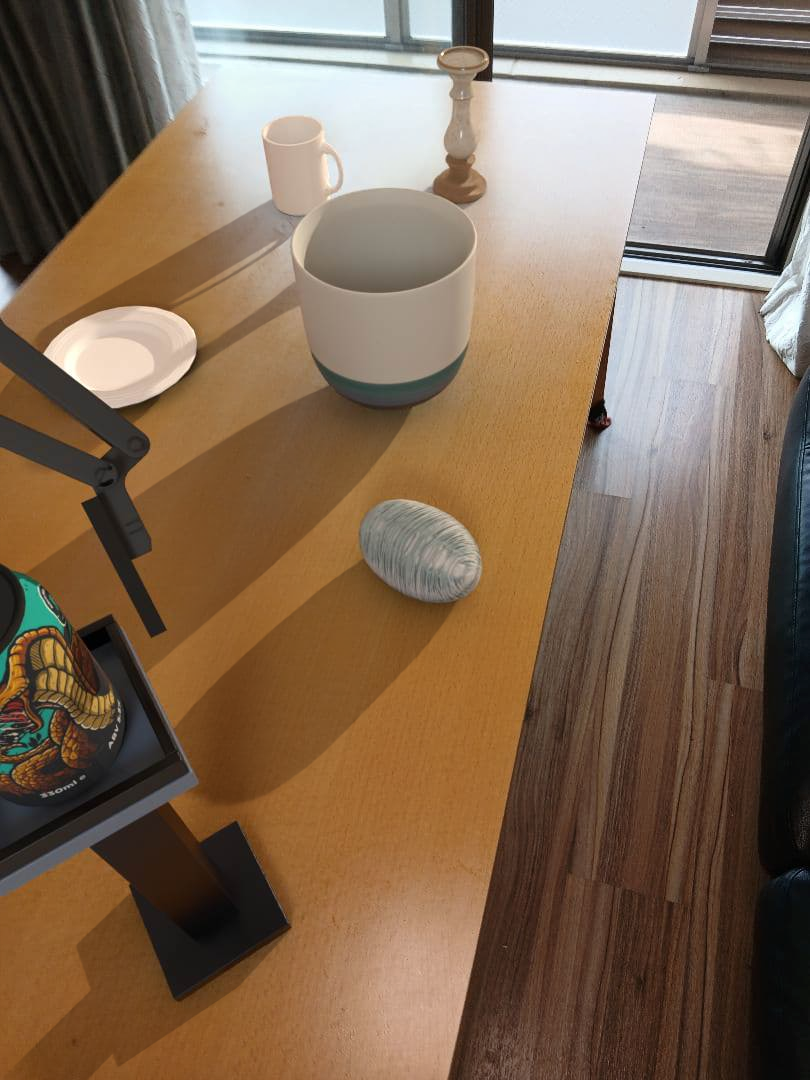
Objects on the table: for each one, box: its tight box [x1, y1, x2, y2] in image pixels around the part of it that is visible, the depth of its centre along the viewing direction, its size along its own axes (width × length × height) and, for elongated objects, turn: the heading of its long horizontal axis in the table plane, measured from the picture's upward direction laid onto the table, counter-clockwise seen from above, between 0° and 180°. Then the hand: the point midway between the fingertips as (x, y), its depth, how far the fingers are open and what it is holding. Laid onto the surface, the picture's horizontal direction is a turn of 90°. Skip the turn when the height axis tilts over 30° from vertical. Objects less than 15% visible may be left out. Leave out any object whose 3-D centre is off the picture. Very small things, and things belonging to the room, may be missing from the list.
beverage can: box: [0, 562, 127, 807], centre depth 36 cm, size 7×7×12 cm
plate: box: [42, 305, 198, 410], centre depth 109 cm, size 21×21×2 cm
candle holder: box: [432, 45, 490, 204], centre depth 126 cm, size 9×9×20 cm
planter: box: [289, 187, 478, 412], centre depth 97 cm, size 20×20×21 cm
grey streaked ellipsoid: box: [358, 498, 483, 604], centre depth 85 cm, size 14×10×10 cm
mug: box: [261, 114, 344, 217], centre depth 128 cm, size 10×12×12 cm
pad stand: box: [0, 613, 292, 1003], centre depth 54 cm, size 10×10×36 cm
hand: (8, 705), depth 35 cm, fingers open, 13 cm apart
